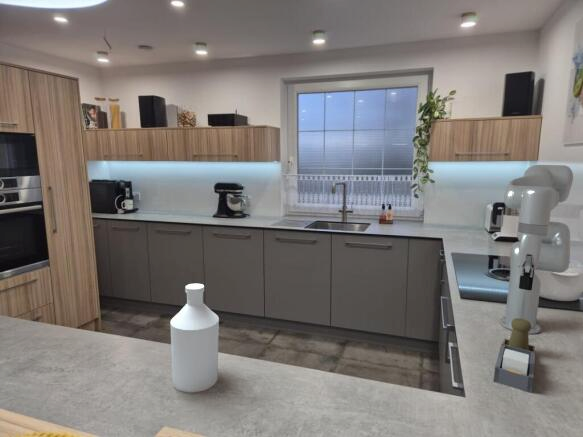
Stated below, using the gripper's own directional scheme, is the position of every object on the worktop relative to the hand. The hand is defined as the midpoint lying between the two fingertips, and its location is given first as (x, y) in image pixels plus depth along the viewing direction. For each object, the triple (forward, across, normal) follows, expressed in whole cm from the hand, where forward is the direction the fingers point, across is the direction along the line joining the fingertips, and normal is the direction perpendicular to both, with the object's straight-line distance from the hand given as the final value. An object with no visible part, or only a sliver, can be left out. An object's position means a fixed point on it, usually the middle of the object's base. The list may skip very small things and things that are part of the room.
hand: (525, 285), depth 111 cm
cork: (+22, 0, 0) cm, 22 cm away
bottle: (+22, +70, -68) cm, 100 cm away
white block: (+22, +18, 0) cm, 28 cm away
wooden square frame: (+22, 0, 0) cm, 22 cm away
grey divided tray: (+22, +14, 0) cm, 26 cm away
